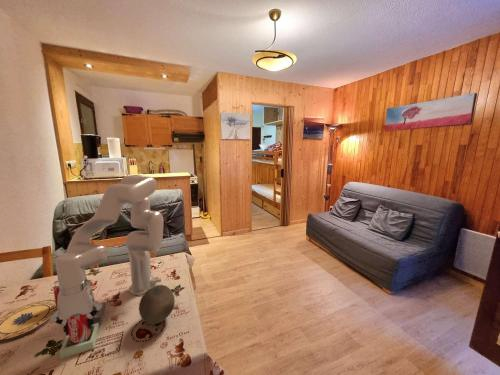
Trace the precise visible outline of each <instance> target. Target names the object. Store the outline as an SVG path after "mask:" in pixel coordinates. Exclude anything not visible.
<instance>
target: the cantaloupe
mask: <svg viewBox="0 0 500 375" xmlns="http://www.w3.org/2000/svg"><path fill="white" fill-rule="evenodd" d="M175 302H176V299H175V295H174V293H173V291H172V290H171V289H170V288H169V287H168V286H167V285H164V284H158V285H155V286H154V287H152V288H150V289H149V290H147V291H146V292H145V293H144V294H142V296H141V298H140V301H139V306H138V310H139V316H140V317H141V319H142V320H143V321H144V322H145V324H149V325H157V324H160V323H162V322H164V321H165V320H166V319H167V318H168V317H169V316H170V315H171V313H172V312H173V310H174V308H175Z"/></svg>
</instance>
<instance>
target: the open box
mask: <svg viewBox="0 0 500 375" xmlns="http://www.w3.org/2000/svg"><path fill="white" fill-rule="evenodd" d="M100 303H101V304H103V305H102V308H101V309H100V310H99V311H98V313H97V315H95V316H94V324H93V325H92V328H91V329H90V332H91V335H90V338H89V340H88V341H87V340H86V341H84V342H82V343H80V344H72V345H71V343H70V342H69V335H67V336H66V335H65V336H66V337H65V339H64V341H63V343H62V346H61V348H60V350H59V356H60V360H62V359H65V358H67V357H71V356H74V355H78V354H80V353H85V352H87V351H91V350H93V349H94V348H95V345H96V341H97V338H98V334H99V330H100V328H101V324H102V321H103V318H104V313H105V310H106V305H105V303H106V302H100ZM95 308H96V307H95V306H93V310H94V309H95Z"/></svg>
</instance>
